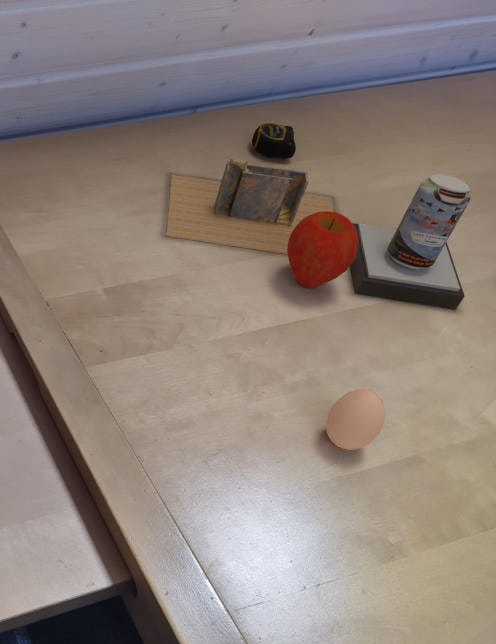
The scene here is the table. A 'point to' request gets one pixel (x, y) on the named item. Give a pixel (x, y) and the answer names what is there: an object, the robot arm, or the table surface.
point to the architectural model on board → (243, 206)
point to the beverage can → (429, 220)
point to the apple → (321, 248)
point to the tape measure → (274, 141)
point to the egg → (355, 419)
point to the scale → (402, 272)
